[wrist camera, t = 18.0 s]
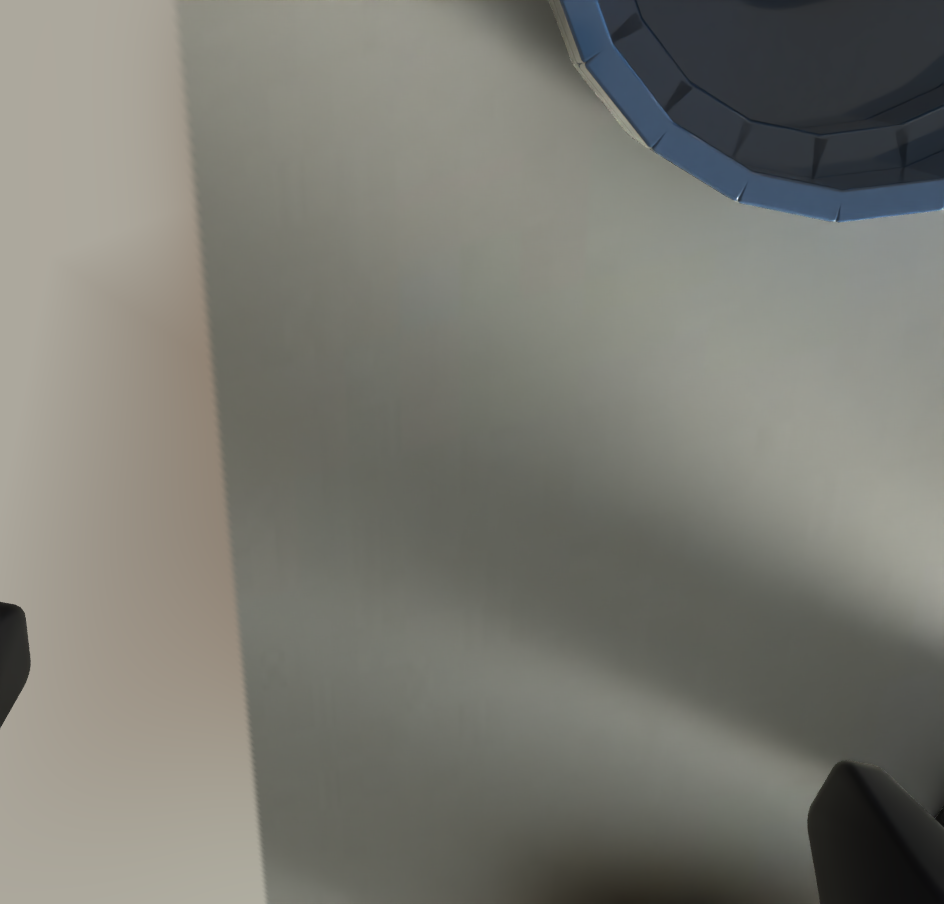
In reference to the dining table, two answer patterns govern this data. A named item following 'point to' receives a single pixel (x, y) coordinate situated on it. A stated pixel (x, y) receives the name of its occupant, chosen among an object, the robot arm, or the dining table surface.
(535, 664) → the dining table surface
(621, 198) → the dining table surface
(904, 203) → the bowl
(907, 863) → the robot arm
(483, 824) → the dining table surface
